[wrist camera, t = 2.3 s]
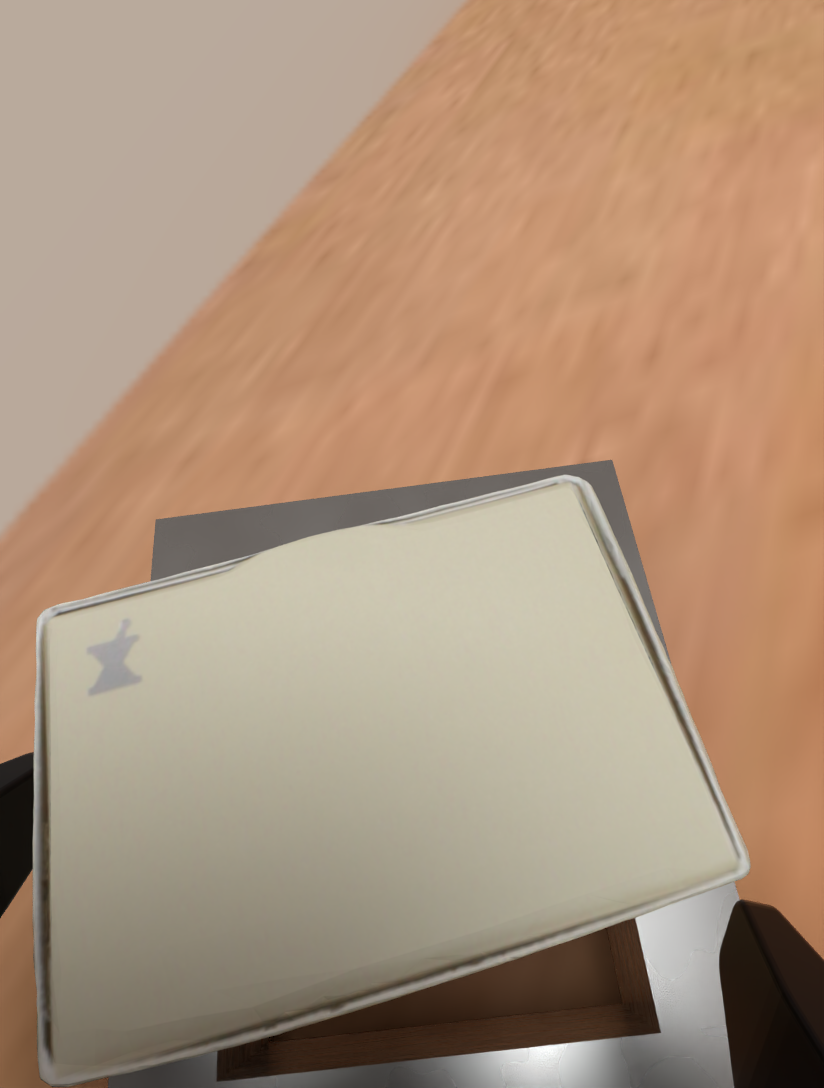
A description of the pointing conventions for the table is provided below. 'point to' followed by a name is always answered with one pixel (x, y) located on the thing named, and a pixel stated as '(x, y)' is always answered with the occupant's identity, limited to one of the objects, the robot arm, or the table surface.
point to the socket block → (503, 1042)
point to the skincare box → (352, 777)
